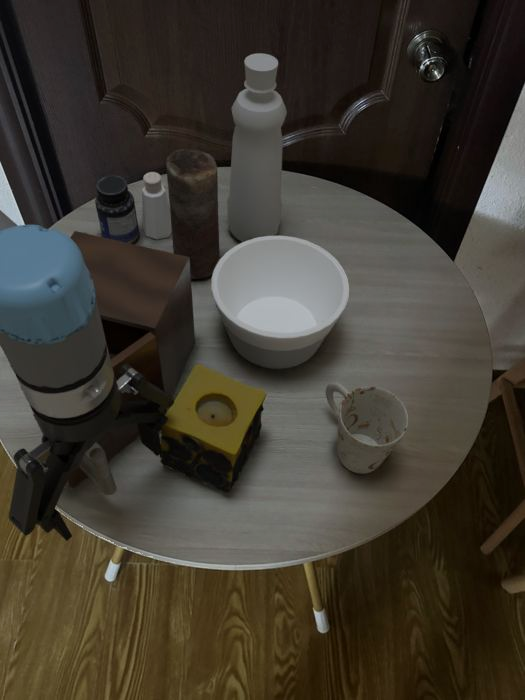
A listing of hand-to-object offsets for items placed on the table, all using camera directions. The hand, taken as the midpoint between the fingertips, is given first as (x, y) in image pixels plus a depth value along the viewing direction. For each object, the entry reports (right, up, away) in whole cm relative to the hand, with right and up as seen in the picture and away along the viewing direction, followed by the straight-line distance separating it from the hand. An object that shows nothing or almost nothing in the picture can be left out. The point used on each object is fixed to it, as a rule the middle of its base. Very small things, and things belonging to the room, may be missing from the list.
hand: (108, 487), depth 70 cm
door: (+1, +1, +9) cm, 9 cm away
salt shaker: (0, +36, +36) cm, 51 cm away
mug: (+29, +3, +13) cm, 32 cm away
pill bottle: (-6, +35, +34) cm, 49 cm away
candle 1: (+7, +29, +31) cm, 43 cm away
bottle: (+16, +36, +37) cm, 54 cm away
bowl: (+20, +18, +24) cm, 36 cm away
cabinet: (-2, +14, +19) cm, 24 cm away
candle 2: (+11, +2, +11) cm, 15 cm away
